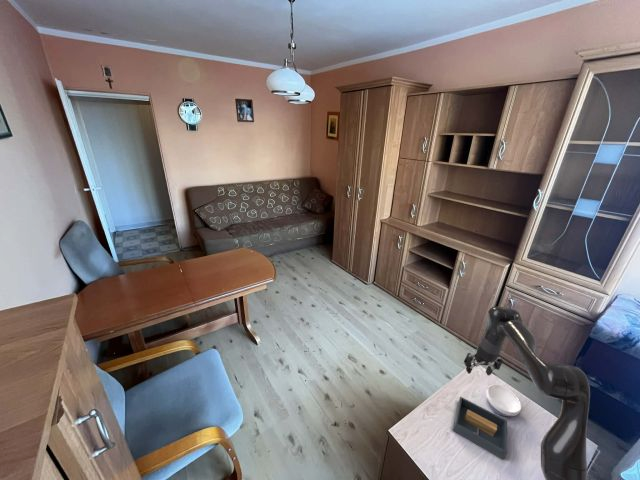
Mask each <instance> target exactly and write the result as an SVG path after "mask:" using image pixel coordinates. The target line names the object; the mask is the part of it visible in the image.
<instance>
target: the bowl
mask: <svg viewBox="0 0 640 480" xmlns="http://www.w3.org/2000/svg"><path fill="white" fill-rule="evenodd" d="M485 396H486V397H485V398H486V401H487V403H488V405H489V407H490V408H491V410H493V412H494V413H496V415H498V416H503V417H514V416H517V415H519V413H521V410H522V403H521V400H520V399H519V397H518V396H517V394H515V393H514V392H513V391H512V390H510V389H509V388H508V387H506V386H504V385H502V384H498V383H497V384H496V383H493V384H490V385H489V386H488V387H487V389H486V391H485Z"/></svg>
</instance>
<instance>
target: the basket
mask: <svg viewBox="0 0 640 480" xmlns="http://www.w3.org/2000/svg"><path fill="white" fill-rule="evenodd" d="M467 410H470V411H472V412H474V413H476V414H478V415H479V416H481V417H483V418H485V419H487V420H489V421H491V422H493V423H494V424H496V425H497V431H496V432H495V434H494V436H491V435H489V434H487V433H486V432H484V431H482V430H480V429H479V435H477V427H475V426H473V425H471V424H469V423H467V422H466V421H464V417H465V414H466V412H467ZM452 432H454V433H456V434H458V435H459V436H461V437H463V438H465V439H466V440H467V441H470V442H471V443H473V444H475V445H476V446H478V447H480V448H482V449H483V450H485V451H487V452H489V453H490V454H492V455H494V456H496V457H497V458H499V459H500V460H503V459H504V458H505V456H506V455H507V453H508V421H507V419H505V418H503V417H501V416H500V415H498V414H495V413H493V412H491V411H490V410H487V409H486V408H484V407H482V406H480V405H478V404H476V403H474V402H472V401H470V400H469V399H466V398H464V397H462V396H460V397H459V399H458V401H457V405H456V410H455V416H454V422H453V427H452ZM473 432H475V433H476V434H475V433H473Z"/></svg>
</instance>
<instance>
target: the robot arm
mask: <svg viewBox="0 0 640 480" xmlns="http://www.w3.org/2000/svg"><path fill="white" fill-rule="evenodd" d="M507 338H508V339H509V341H510V342H511V343H512V344H513V346H514V347H515V350H516V351H517V353H518V355H519V357H520V360H521V362H522V363H523V365H524V367H525V369H526V372H527V373H528V375H529V377H530V379H531V381H532V383H533V385H534V386H535V388H536V389H537V390H538V391H539V393H541V394H542V395H543V396H545V397H547V398H551V399H556V400H561V406H560V407H561V408H560V412H559V415H558V417H557V418H556V420H555V422H554V423H553V424H552V426H550V427H549V429H548V430H547V432H545V434H544V435H543V437H542V440H541V442H540V468H541V473H542V475H543V477H544V479H545V480H588V458H587V431H588V429H587V428H588V421H589V420H588V418H589V411H590V402H591V401H590V399H591V388H590V382H589V379H588V377H587V374H585V372H584V371H583V370H582V369H581V368H579V367H577V366H574V365H569V364H564V363H556V362H550V361H545V360H543V359H542V358H541V357H540V356H539V355H538V354H537V347H538V343H537V339H536V337H535V335H534V334H533V333H532V332H531V331H530V329H529V328H527V326H526V325H525V323H524V321H523V318H522V315H521V313H520V312H518V310H516V309H515V308H510V307H503V306H497V305H496V306H492V307H490V308H489V309H488V311H487V325H486V329H485V332H484V334H483V336H482V337H481V339H480V342H479V344H478V346H477V347H476V353H475V354H472V353H471V352H468V353H467V354H466V355H465V356H466V357H464V360H463V363H464V365H465V370H466V373H467V374H471V373H472V371H473V368H475V367H476V368H477V367H480V366H487V368H486V370H485V374H486V376H488V377H489V376H491V375H492V373H493V371H495V370H496V371H498V370H501V367H502V364H503V361H504V360H503V359H502V358H501V355H500V354H501V351H502V349H503V346H504V343H505V341H506V339H507Z"/></svg>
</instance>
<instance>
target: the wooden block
mask: <svg viewBox="0 0 640 480" xmlns="http://www.w3.org/2000/svg"><path fill="white" fill-rule="evenodd" d="M464 421H466V422H467V423H469V424H471V425H473V426H475V427H477V435H479V429H480V430H482V431H484V432H486V433H487V434H489V435H491V436H494V434H495V432H496V431H497V425H496V424H494V423H493V422H491V421H489V420H487V419H485V418H483V417H481V416H479V415H478V414H476V413H474V412H472V411H470V410H467V412H466V414H465V417H464ZM473 433H475V432H473ZM475 434H476V433H475Z"/></svg>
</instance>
